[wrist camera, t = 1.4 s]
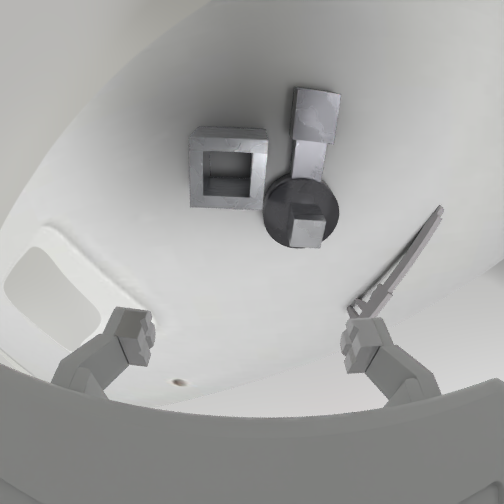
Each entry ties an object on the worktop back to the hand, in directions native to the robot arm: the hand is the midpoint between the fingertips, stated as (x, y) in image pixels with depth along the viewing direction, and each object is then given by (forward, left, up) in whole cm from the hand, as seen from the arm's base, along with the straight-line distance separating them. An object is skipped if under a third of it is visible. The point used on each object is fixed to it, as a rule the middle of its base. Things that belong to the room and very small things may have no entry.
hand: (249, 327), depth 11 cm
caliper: (+12, +21, -22) cm, 32 cm away
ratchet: (0, +6, -21) cm, 22 cm away
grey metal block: (0, -2, -21) cm, 21 cm away
